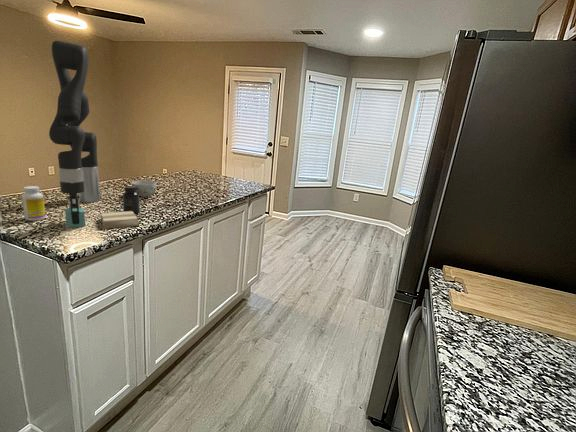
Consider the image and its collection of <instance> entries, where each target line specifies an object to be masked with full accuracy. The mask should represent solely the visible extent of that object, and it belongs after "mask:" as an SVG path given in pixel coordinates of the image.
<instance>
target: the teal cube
mask: <svg viewBox="0 0 576 432" xmlns="http://www.w3.org/2000/svg"><path fill="white" fill-rule="evenodd" d="M72 211H77V209H73V210H72ZM64 212H65V215H64V216H65V223H66V228H67V229H69V228H70V229H71V228H81V227H86V217H85V209H84V207H80V209H79V224H73V223H72V215H71V210H70V209H69V208H65V209H64Z"/></svg>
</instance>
